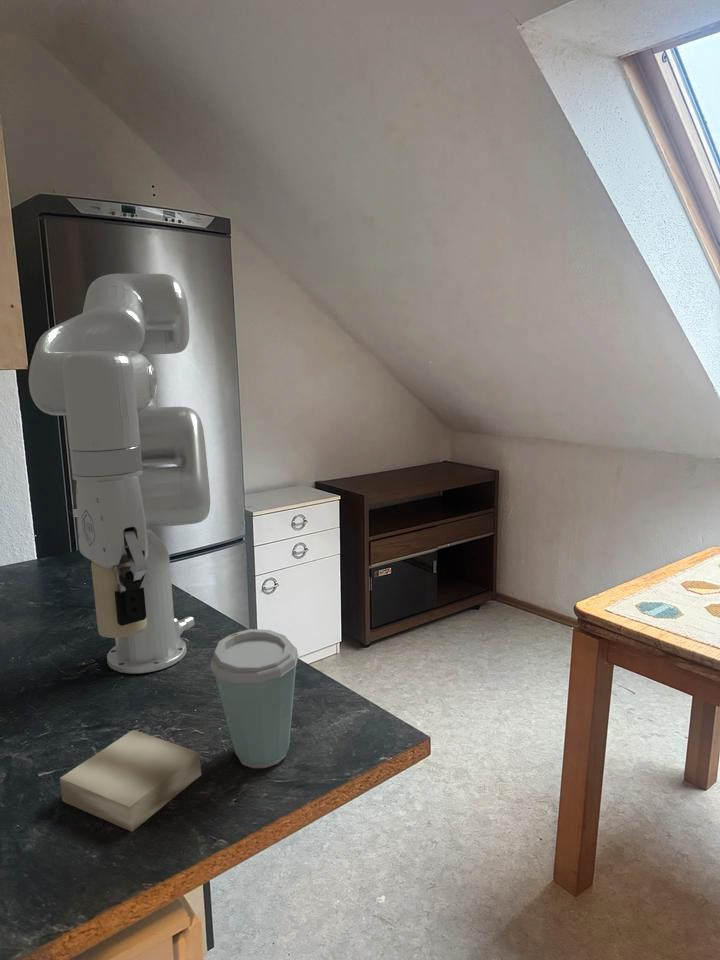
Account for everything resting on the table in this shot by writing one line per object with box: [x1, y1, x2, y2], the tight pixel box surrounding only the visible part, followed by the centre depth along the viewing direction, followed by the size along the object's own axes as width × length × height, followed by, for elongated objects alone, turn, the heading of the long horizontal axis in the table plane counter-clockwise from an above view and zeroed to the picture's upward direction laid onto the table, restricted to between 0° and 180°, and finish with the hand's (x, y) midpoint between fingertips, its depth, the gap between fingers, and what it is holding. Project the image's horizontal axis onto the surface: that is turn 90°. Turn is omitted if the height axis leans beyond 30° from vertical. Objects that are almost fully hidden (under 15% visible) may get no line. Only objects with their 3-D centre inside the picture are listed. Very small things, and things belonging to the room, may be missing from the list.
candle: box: [90, 557, 147, 639], centre depth 81 cm, size 6×6×10 cm
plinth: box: [59, 729, 202, 833], centre depth 81 cm, size 11×11×3 cm
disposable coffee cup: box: [210, 628, 299, 769], centre depth 86 cm, size 11×11×15 cm
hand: (121, 613), depth 82 cm, fingers closed on candle, 5 cm apart
